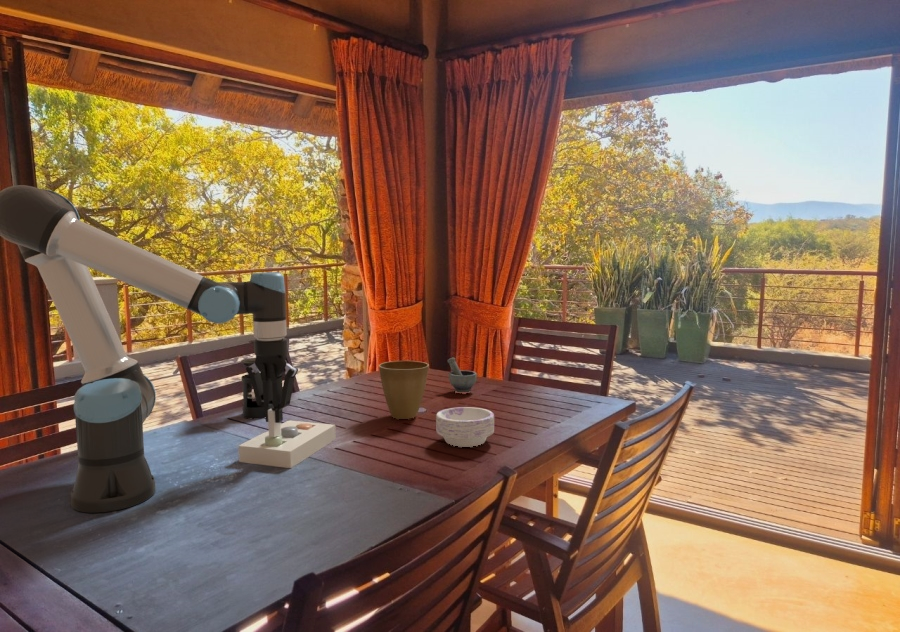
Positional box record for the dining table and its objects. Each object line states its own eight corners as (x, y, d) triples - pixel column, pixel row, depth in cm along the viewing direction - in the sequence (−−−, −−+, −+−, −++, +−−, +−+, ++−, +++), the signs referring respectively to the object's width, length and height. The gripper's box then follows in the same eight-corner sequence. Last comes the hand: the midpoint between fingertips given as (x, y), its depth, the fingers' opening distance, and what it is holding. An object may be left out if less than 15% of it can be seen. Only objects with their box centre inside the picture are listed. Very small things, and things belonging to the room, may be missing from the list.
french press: (252, 421, 177) (249, 343, 174) (233, 415, 182) (230, 340, 180) (285, 412, 186) (283, 339, 183) (266, 407, 192) (264, 336, 189)
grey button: (292, 447, 149) (292, 431, 149) (278, 445, 150) (278, 430, 150) (301, 442, 153) (300, 427, 153) (287, 441, 154) (286, 425, 154)
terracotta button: (307, 443, 156) (306, 428, 156) (293, 442, 157) (293, 427, 157) (315, 438, 160) (314, 424, 159) (301, 437, 161) (301, 422, 161)
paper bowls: (454, 430, 169) (454, 402, 168) (503, 439, 161) (504, 410, 160) (424, 445, 156) (424, 415, 155) (476, 456, 148) (476, 424, 147)
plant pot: (435, 420, 178) (435, 367, 176) (387, 425, 173) (386, 371, 171) (419, 408, 192) (419, 358, 190) (374, 412, 186) (373, 361, 185)
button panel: (290, 468, 139) (290, 451, 139) (239, 461, 143) (238, 445, 143) (335, 439, 160) (335, 424, 160) (289, 434, 164) (288, 420, 164)
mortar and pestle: (481, 391, 214) (481, 358, 213) (467, 396, 206) (467, 362, 205) (455, 387, 220) (455, 355, 219) (440, 392, 213) (440, 359, 211)
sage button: (276, 456, 143) (276, 440, 142) (262, 455, 144) (261, 438, 143) (285, 451, 146) (285, 435, 146) (271, 449, 148) (271, 433, 147)
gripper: (303, 336, 144) (307, 432, 146) (256, 334, 147) (260, 428, 150) (286, 341, 136) (290, 442, 139) (236, 339, 140) (241, 437, 143)
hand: (274, 435), depth 145 cm, fingers closed
